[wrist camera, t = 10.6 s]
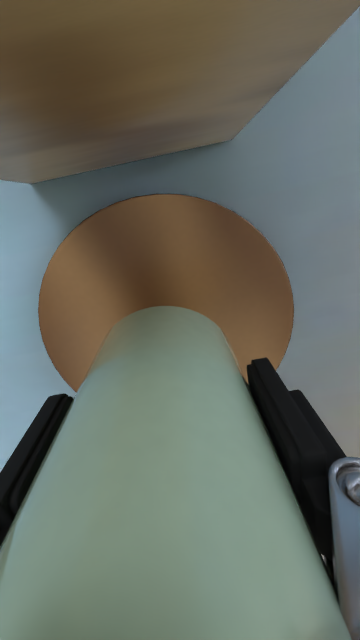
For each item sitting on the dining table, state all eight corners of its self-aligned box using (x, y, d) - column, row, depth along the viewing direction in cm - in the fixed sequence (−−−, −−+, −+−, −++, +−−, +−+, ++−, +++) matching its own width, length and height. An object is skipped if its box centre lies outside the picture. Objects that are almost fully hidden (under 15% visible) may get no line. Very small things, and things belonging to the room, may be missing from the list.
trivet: (181, 118, 12) (181, 114, 11) (333, 337, 17) (339, 341, 16) (-11, 319, 16) (-17, 323, 15) (160, 450, 20) (160, 457, 20)
